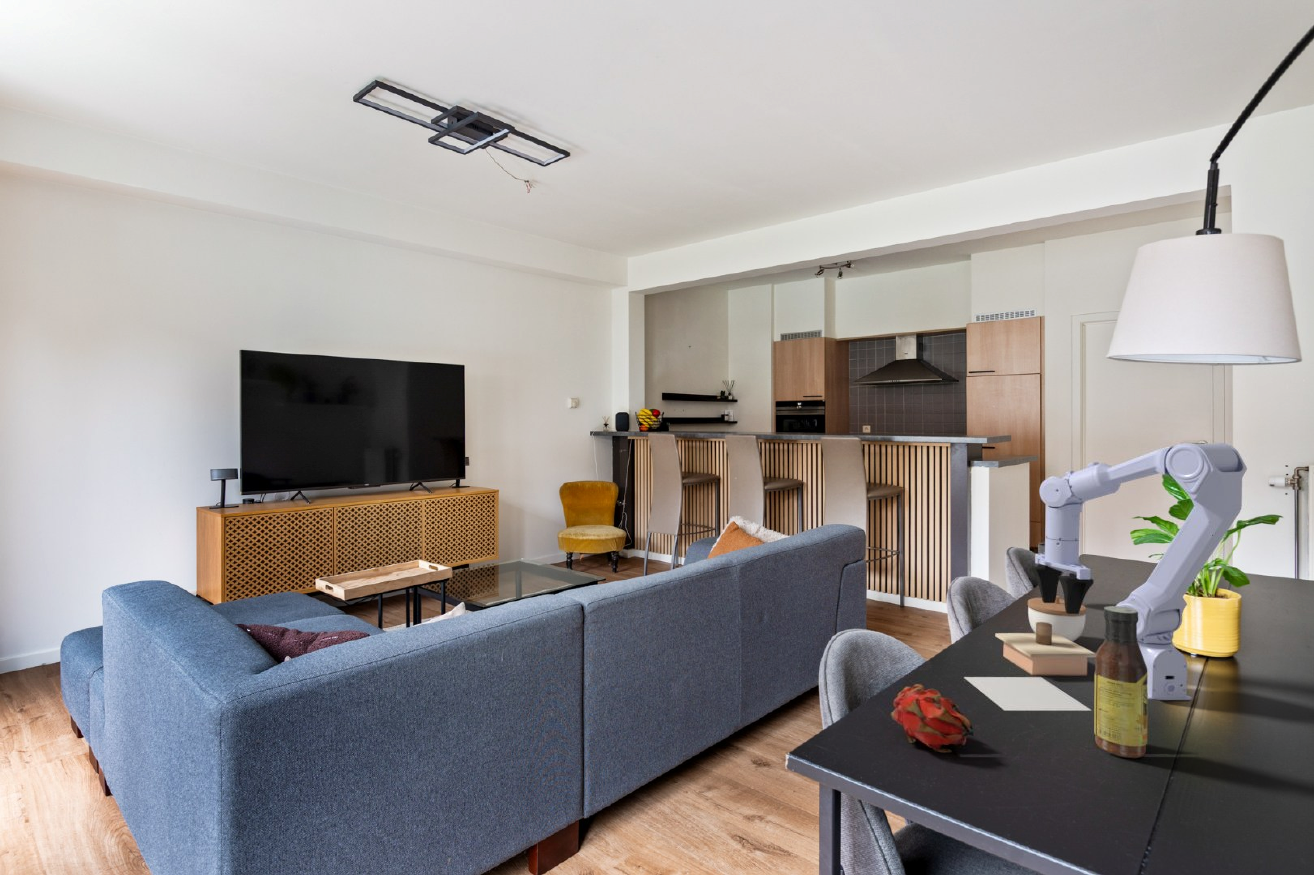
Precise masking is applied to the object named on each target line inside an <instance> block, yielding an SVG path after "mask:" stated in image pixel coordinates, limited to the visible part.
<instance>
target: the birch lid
mask: <svg viewBox="0 0 1314 875" xmlns="http://www.w3.org/2000/svg"><path fill="white" fill-rule="evenodd" d="M994 636H995V638H998V639H999V640H1001V641H1003V643H1004V642H1006V643H1007V644H1009V645H1011V646H1012V647H1014V648H1016V649H1017V650H1019V651H1021V652H1023V653H1024V654H1026V655H1028V656H1029V657H1087V658H1096V652H1094V651H1091V650H1090V649H1088V648H1085V647H1084V646H1081V645H1079V644H1077V643H1076V642H1074V641H1073V642H1072V641H1070V640H1068V639H1066V638H1064V637H1062V636H1060V635H1058V634H1056V633H1052V624H1049V623H1045V622H1037V623H1036V633H1035V632H1008V633H1007V632H1001V633H1000V632H998V633H997V632H995V635H994Z"/></svg>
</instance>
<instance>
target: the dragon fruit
mask: <svg viewBox="0 0 1314 875" xmlns="http://www.w3.org/2000/svg"><path fill="white" fill-rule="evenodd" d="M893 707H894V709H893V711H891V713H890V714H889V716H890V717H891V719H892V721H894V722H897V724H899V725H900V726H903V729H904V732H905V735H906V737H907V739H908V742H909V743H910V744H912V743H913V744H914V743H915V742H916V739H917V740H918V741H920V742H921V743H922V744H924V745H926V746H927V747H928V748H930V749H932V750H933V751H934V752H939V753H944V754H945V753H953V751H952V750H951V749H949V748H946V747H942V746H943V745H944V746H945V745H946V746H948V745H959V744H960V745H963V746H964V745H965V744H966V742H967V736H971V737H974V735H975V734H974V732H973V731H971V730H974V729H977V728H974V727H973V726H972V724H971V722H970V720H969V719H968V718H967V717H965V715H964V714H963V713H962V712H961V711H960V706H959V705H957V704H956V703H955V702H954V701H953V700H951V699H949V698H946V697H942V695H941V693H940V692H939V691H938V689H934V688H933V687H931V688H928V689H926V688H925V686H924V685H923V684H921V683H920V684H919V683H915V684H914V685H912V686H908V685H907V686H905V687H904V688H902V690H901V691H900V692H898V694H897V696H896V698H895V699H894V700H893ZM954 708H955V710H954Z"/></svg>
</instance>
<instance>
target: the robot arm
mask: <svg viewBox="0 0 1314 875" xmlns="http://www.w3.org/2000/svg"><path fill="white" fill-rule="evenodd" d="M1247 470H1248V468H1247V465H1246V463H1245V461H1244V459H1243V458H1242V456H1241V454H1240V452H1239V451H1238V450H1237V449H1236V448H1235V446H1232V444H1231V445H1230V444H1228V443H1224V442H1213V443H1193V442H1183V443H1182V442H1181V443H1179V444H1176V445H1175V446H1167V447H1161V448H1158V449H1156V450H1154V451H1151V452H1148V453H1146V454H1145V453H1144V454H1143V455H1141V456H1138V457H1135V458H1132V459H1130V460H1127V461H1125V462H1124V461H1123V462H1122V463H1118V464H1116V465H1114V466H1112V465H1109V464H1108V463H1105V462H1104V463H1103V462H1102V463H1100V462H1099V461H1095V462H1094V461H1093V462H1090V463H1088V464H1087V467H1086V468H1083V469H1079V470H1077V471H1074V470H1069V471H1066V472H1065V475H1064V476H1062V477H1061V476H1060V477H1059V476H1050V477H1048V478H1046V479H1044V480H1043V481H1042V482H1041V484H1040V487H1039V497H1040V499H1041V501H1042V502H1043V503H1044V504H1045V526H1044V527H1045V529H1044V530H1045V532H1044V534H1045V535H1044V538H1045V539H1044V542H1045V554H1038V553H1035V555H1034V563H1035V564H1037V565H1036V566H1035V565H1033V566H1032V565H1031V568H1030V569H1031V571H1032V574H1033V575H1034V576H1035V579H1036V581H1037V584H1038V588H1039V593H1040V596H1041V597H1040V598H1042V601H1043V602H1044V603H1055V600H1056V595H1057V596H1058V586H1059V583H1060V586H1061V587H1062V591H1063V592H1062V593H1063V598H1064V599H1063V600H1064V602H1065V610H1066V613H1068V614H1079V611H1080V608H1081V605H1083V602H1084V599H1085V597H1086V595H1087V593H1088V591H1089V590H1090V588H1091V587H1092V586H1093V584H1094V579H1093V578H1091V568H1088V567H1087V566H1085V565H1083V564H1082V563H1080V525H1081V524H1080V520H1081V513H1082V510H1083V509H1082V508H1083V505H1084V504H1085V502H1089V501H1090V500H1094V499H1098V498H1102V497H1105V496H1107V495H1111V494H1112V495H1113V494H1115V493H1116V492H1118V491H1119V490H1120V487H1121V484H1123V483H1127V482H1131V481H1135V480H1138V479H1143V478H1147V477H1149V476H1153V475H1157V474H1160V475H1163V476H1164V475H1166V476H1167V475H1170V476H1171V477H1172V478H1173V480H1175V481H1176V483H1177V484H1178V485H1179V486H1180V488H1181V489H1182V490H1183V491H1184V492H1185V493H1186V494H1187V495H1188V497H1189V498H1190V500H1191V502H1192V504H1193V507H1192V509H1191V511H1190V513H1189V514H1188V516H1187V517H1186V519H1185V520H1184V522H1183V524H1182V525H1181V527H1180V528H1179V530H1178V531H1177V533H1176V534H1175V535H1174V538H1173V539H1172V541H1171V542H1170V543H1169V546H1168V547H1167V549H1166V550H1165V552H1164V553H1163V555H1162V556H1161V558H1160V560H1159V562H1158V563H1157V564H1156V566H1155V568H1154V569H1153V570H1152V572H1151V574H1150V575H1149V577H1148V579H1146V581H1145V583H1142V585H1140V586H1139V587H1136V588H1135V589H1134V590H1133V591H1131V593H1130V594H1129V596H1128V597H1127V598H1126V599H1125V600H1122V601H1119V602H1118V603H1117V604H1116V605H1115V606H1118V607H1125V608H1130V609H1134V610H1136V611H1137V612H1138V622H1137V642H1138V645H1139V647H1140V650H1141V653H1142V656H1143V658H1144V661H1145V664H1146V667H1147V671H1148V678H1147V681H1148V683H1147V688H1148V689H1147V692H1148V700H1158V701H1192V696H1190V695H1188V694H1187V690H1188V689H1187V688H1188V662H1187V658H1186V657H1185V655H1184V653H1182V652H1180V651H1179V650H1178V649H1177V648H1176V647H1175V645H1174V643H1173V639H1174V632H1176V631H1178V630H1179V629H1180V627H1181V626H1182V623H1183V612H1184V610H1185V608H1186V607H1187V605H1188V604H1187V601H1186V600H1185V599H1184V596H1185V595H1186V593H1187V591H1188V590H1189V588H1190V587H1191V586H1192V584H1193V582H1194V581H1195V580H1196V578H1197V576H1198V575H1199V574H1200V572H1201V571H1202V569H1203V568H1204V566H1205V564H1206V563H1207V562H1208V561H1209V559H1210V557H1211V556H1212V555H1213V552H1215V550H1216V548H1217V547H1218V545H1219V544H1220V543H1221V541H1222V540H1223V538H1224V536H1225V535H1226V534H1227V533H1228V530H1230V528H1231V526H1232V525H1233V523H1234V522H1235V520H1237V517H1238V515H1239V514H1240V513H1241V510H1242V507H1243V505H1242V504H1243V502H1242V500H1243V478H1244V475H1245V473H1246V472H1247ZM1209 522H1210V523H1209ZM1212 535H1213V537H1212ZM1062 572H1065V573H1066V574H1068V575H1064V576H1061V574H1062Z"/></svg>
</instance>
